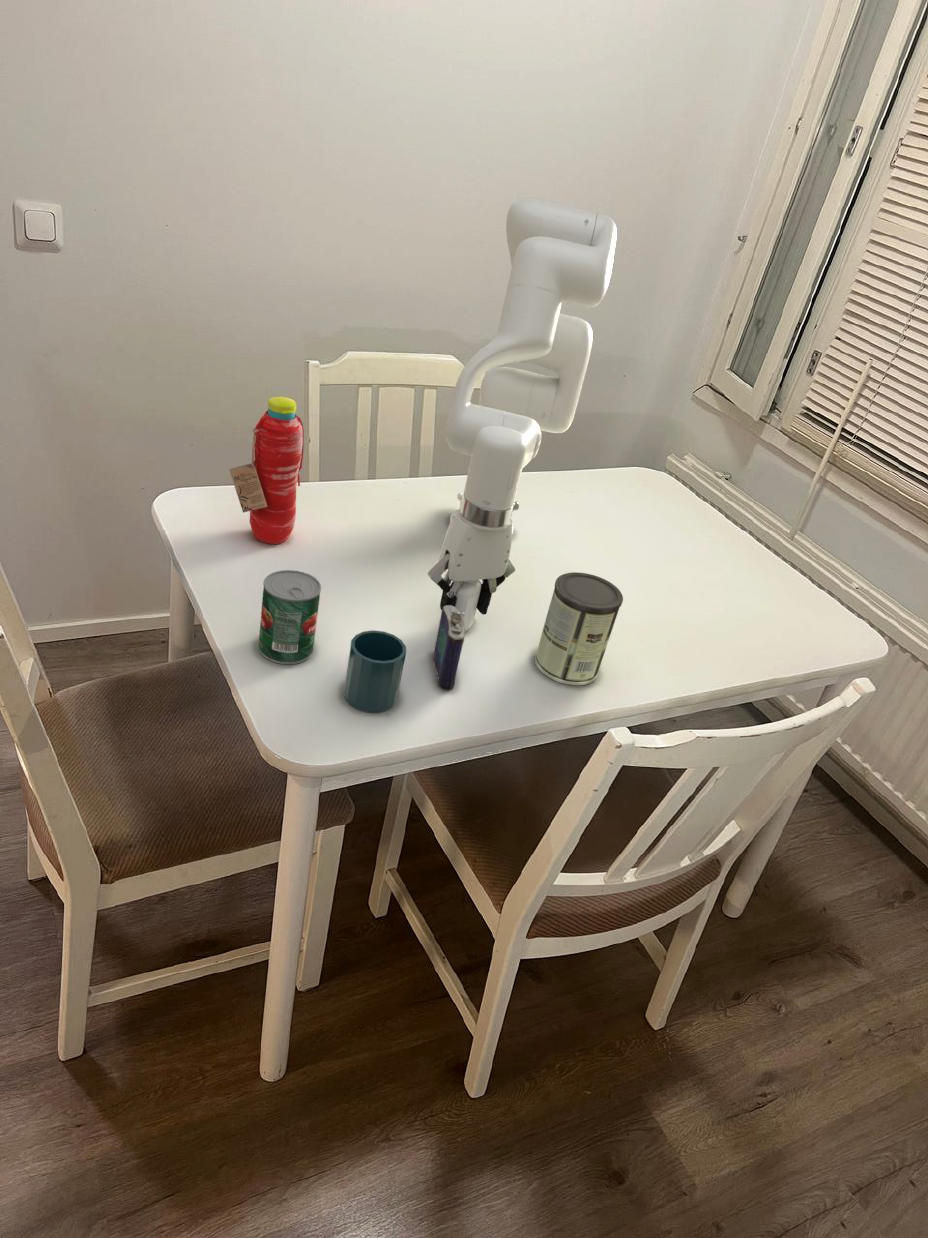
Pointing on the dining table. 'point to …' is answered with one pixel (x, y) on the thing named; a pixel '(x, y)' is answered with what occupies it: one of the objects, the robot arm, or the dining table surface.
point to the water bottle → (272, 472)
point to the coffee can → (577, 628)
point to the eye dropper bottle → (468, 601)
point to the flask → (448, 646)
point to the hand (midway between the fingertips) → (463, 610)
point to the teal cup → (374, 671)
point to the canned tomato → (289, 616)
